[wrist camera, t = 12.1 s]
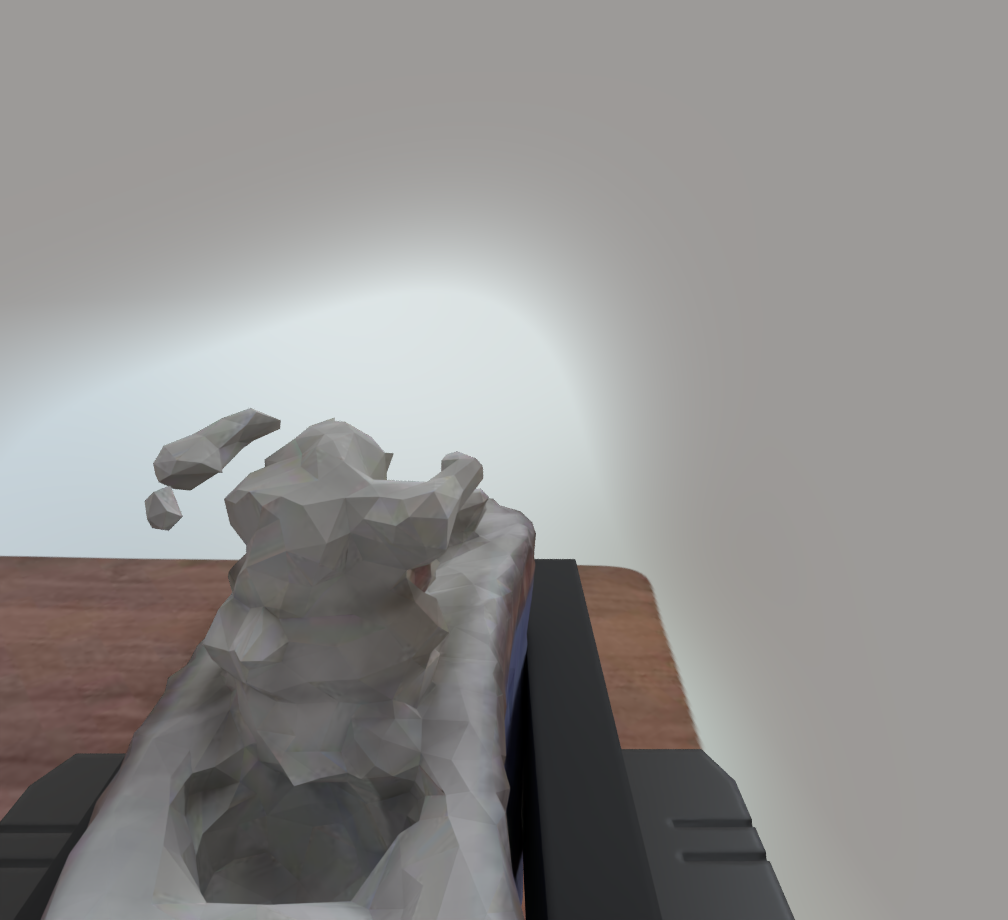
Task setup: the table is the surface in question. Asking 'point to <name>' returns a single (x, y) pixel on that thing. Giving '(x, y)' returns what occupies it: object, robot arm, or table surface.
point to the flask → (329, 703)
